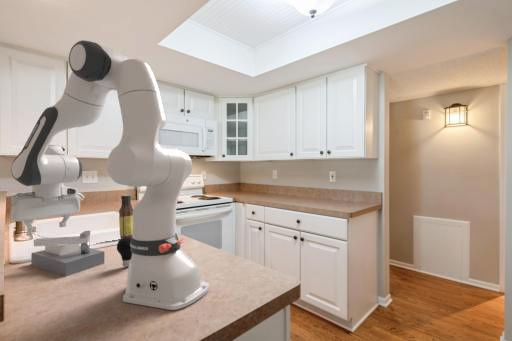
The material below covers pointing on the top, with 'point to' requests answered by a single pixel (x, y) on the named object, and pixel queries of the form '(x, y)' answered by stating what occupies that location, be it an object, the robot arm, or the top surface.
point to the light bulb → (125, 250)
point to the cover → (62, 248)
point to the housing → (67, 261)
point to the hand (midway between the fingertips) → (48, 229)
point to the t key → (67, 241)
